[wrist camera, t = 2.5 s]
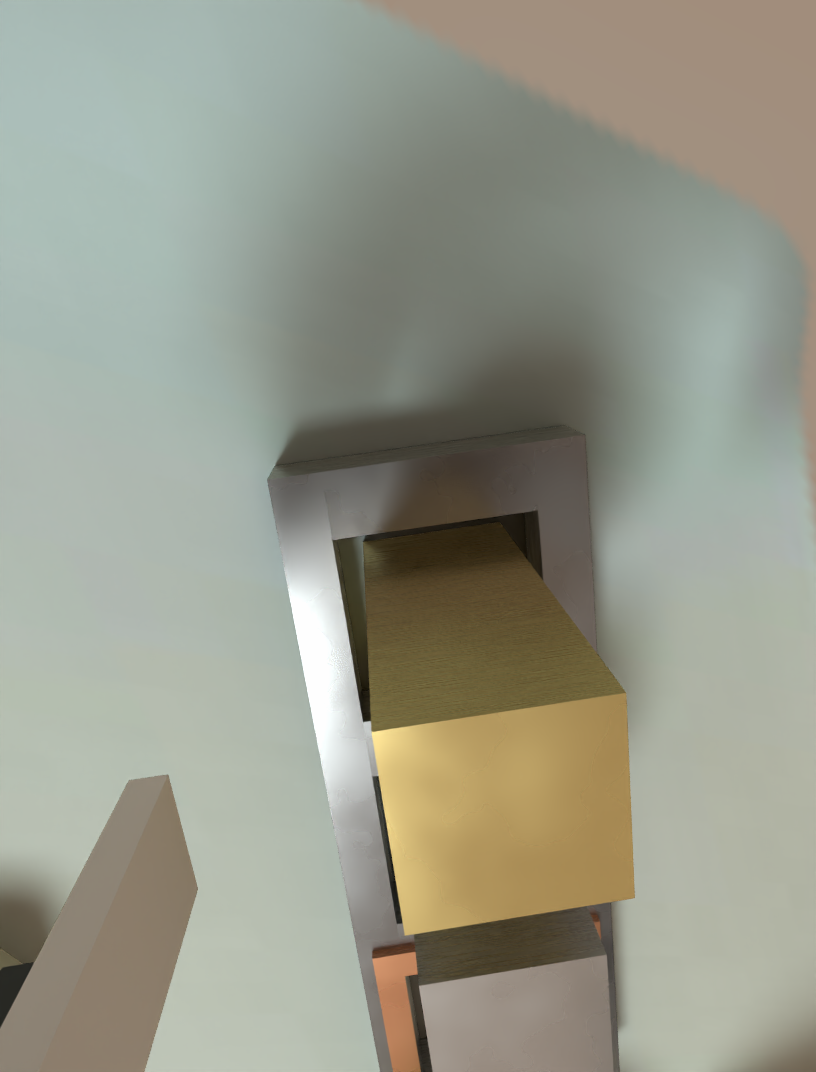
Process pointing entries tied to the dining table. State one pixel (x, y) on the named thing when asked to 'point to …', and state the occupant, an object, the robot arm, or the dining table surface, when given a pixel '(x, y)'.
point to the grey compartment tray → (331, 664)
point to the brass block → (491, 735)
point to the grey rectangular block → (517, 995)
